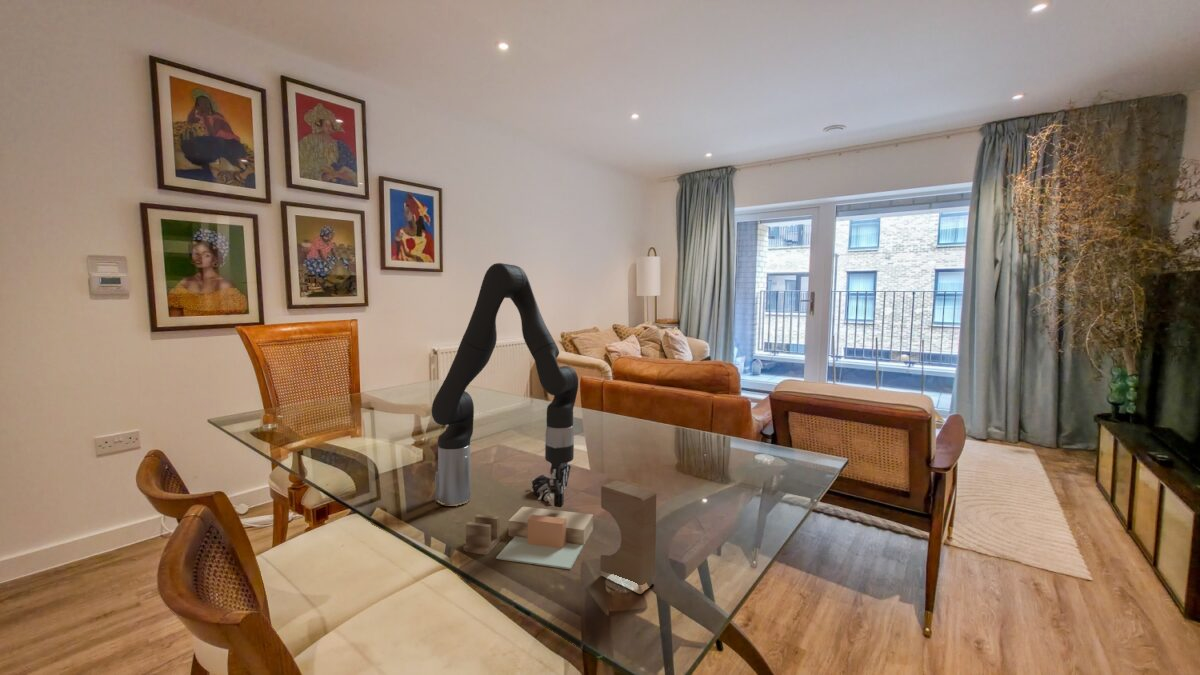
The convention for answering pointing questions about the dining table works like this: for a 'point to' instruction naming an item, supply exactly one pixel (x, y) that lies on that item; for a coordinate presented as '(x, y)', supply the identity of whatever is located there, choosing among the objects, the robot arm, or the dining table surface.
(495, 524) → the slotted rack
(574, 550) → the mat
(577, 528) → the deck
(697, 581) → the dining table surface
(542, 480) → the figurine
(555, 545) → the tile
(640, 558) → the decorative block
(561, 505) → the robot arm
